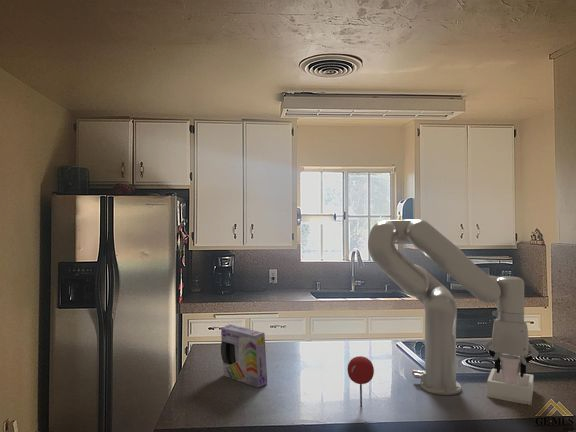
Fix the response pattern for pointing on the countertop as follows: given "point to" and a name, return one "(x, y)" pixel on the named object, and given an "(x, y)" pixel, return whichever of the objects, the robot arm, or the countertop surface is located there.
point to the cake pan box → (244, 355)
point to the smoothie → (510, 368)
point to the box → (510, 388)
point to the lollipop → (360, 372)
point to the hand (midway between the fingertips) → (510, 373)
